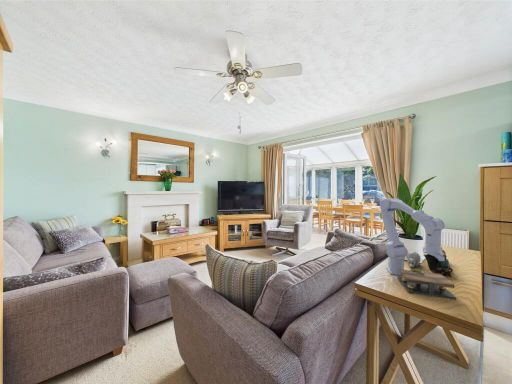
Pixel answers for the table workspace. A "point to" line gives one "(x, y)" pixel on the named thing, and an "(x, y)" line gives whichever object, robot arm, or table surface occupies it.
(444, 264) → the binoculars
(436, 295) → the leveling stand
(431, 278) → the instrument plate
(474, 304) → the table surface
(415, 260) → the round bodied animal figurine
